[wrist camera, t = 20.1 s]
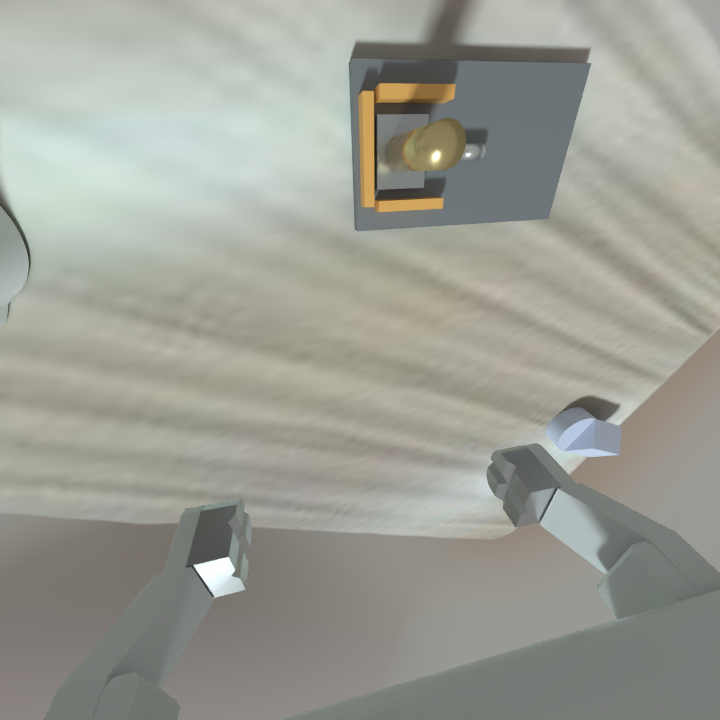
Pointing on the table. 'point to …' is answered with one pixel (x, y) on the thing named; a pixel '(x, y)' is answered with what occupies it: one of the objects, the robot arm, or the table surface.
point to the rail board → (467, 137)
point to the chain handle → (418, 148)
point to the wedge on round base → (584, 434)
